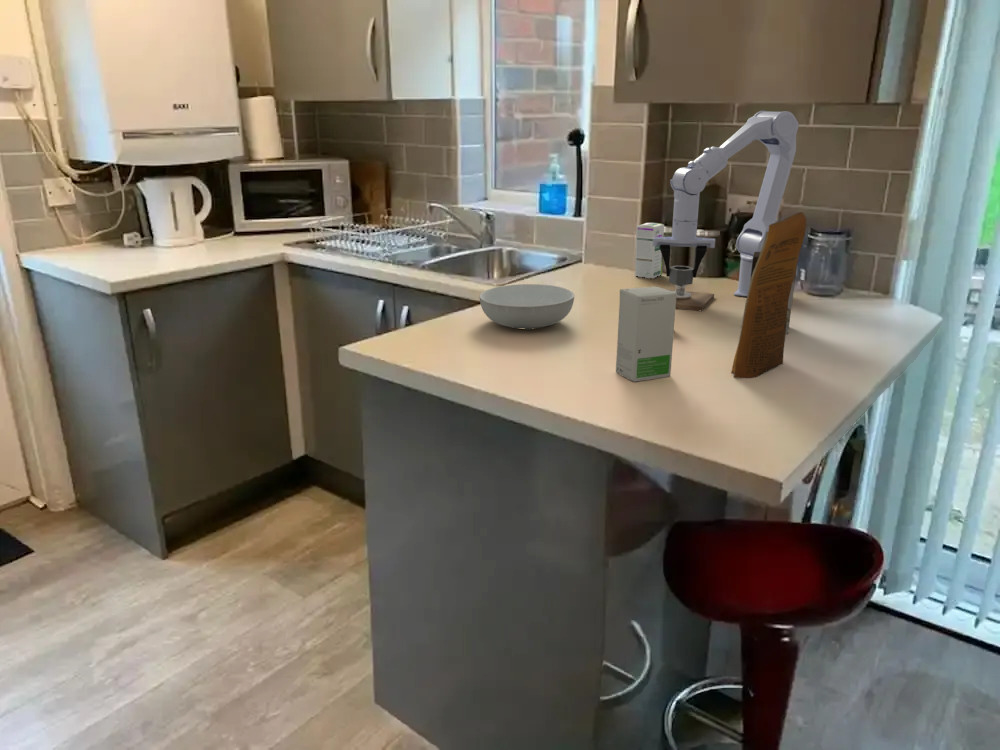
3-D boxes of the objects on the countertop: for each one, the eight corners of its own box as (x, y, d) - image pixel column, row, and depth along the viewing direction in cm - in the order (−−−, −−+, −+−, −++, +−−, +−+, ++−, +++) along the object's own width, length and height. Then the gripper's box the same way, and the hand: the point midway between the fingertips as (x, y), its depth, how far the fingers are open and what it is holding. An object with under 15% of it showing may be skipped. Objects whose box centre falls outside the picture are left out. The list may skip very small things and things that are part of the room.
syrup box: (652, 279, 216) (655, 226, 211) (633, 276, 219) (636, 224, 214) (662, 275, 220) (665, 223, 215) (643, 273, 224) (646, 221, 219)
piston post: (692, 296, 193) (693, 280, 192) (687, 300, 189) (688, 284, 187) (671, 293, 195) (672, 278, 194) (666, 298, 191) (667, 282, 190)
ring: (691, 280, 193) (693, 266, 192) (692, 285, 188) (694, 271, 187) (668, 279, 194) (669, 265, 193) (668, 284, 189) (670, 269, 188)
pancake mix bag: (802, 361, 148) (821, 211, 139) (752, 386, 136) (770, 224, 126) (769, 353, 153) (785, 208, 144) (718, 377, 140) (732, 219, 131)
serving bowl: (514, 307, 188) (514, 279, 186) (590, 320, 177) (591, 291, 174) (460, 327, 172) (460, 297, 170) (541, 343, 161) (541, 310, 158)
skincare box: (633, 383, 138) (637, 296, 132) (613, 371, 143) (617, 288, 138) (672, 376, 141) (678, 291, 136) (651, 365, 147) (656, 284, 141)
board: (714, 297, 195) (714, 293, 195) (701, 310, 184) (702, 306, 183) (659, 292, 201) (659, 288, 201) (643, 304, 189) (643, 300, 189)
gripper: (715, 218, 188) (710, 273, 193) (654, 216, 191) (651, 271, 195) (717, 222, 182) (712, 280, 186) (654, 221, 184) (650, 277, 189)
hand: (681, 276), depth 190 cm, fingers closed on ring, 6 cm apart
